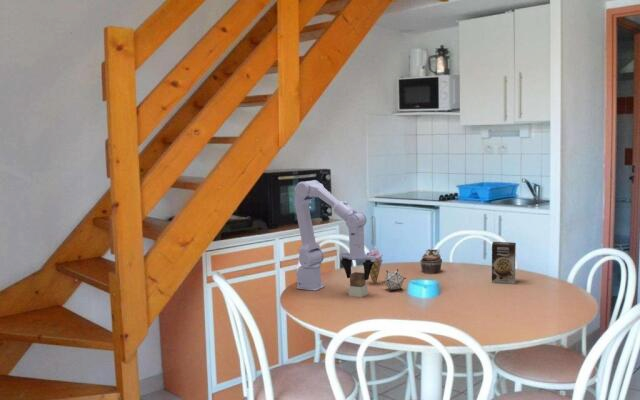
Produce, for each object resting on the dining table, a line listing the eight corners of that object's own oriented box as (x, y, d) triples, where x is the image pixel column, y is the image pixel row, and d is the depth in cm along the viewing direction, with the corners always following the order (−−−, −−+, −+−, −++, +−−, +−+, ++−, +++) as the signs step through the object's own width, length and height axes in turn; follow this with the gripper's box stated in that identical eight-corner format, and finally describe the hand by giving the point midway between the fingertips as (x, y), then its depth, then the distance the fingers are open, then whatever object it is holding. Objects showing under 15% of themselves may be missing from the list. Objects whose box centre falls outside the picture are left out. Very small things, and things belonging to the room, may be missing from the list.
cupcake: (419, 269, 264) (419, 247, 263) (441, 269, 263) (441, 247, 262) (420, 274, 255) (420, 252, 254) (443, 274, 253) (442, 251, 252)
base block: (348, 296, 224) (348, 286, 224) (355, 292, 229) (354, 282, 228) (361, 297, 221) (361, 287, 221) (367, 294, 226) (367, 284, 226)
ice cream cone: (383, 281, 244) (382, 246, 242) (383, 285, 238) (382, 249, 236) (367, 282, 244) (366, 247, 243) (367, 285, 238) (366, 249, 237)
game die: (398, 300, 229) (405, 283, 223) (378, 292, 231) (384, 275, 224) (403, 284, 236) (410, 268, 229) (383, 276, 237) (389, 260, 231)
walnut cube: (350, 286, 224) (349, 274, 223) (355, 283, 228) (355, 272, 227) (360, 287, 222) (360, 275, 221) (365, 284, 225) (365, 273, 225)
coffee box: (491, 283, 236) (491, 244, 234) (492, 279, 242) (492, 241, 240) (514, 284, 232) (514, 244, 231) (515, 280, 238) (515, 241, 237)
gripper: (335, 244, 223) (336, 279, 225) (369, 247, 216) (370, 282, 217) (343, 241, 229) (344, 275, 231) (377, 243, 222) (378, 278, 223)
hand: (357, 278), depth 224 cm, fingers open, 7 cm apart
